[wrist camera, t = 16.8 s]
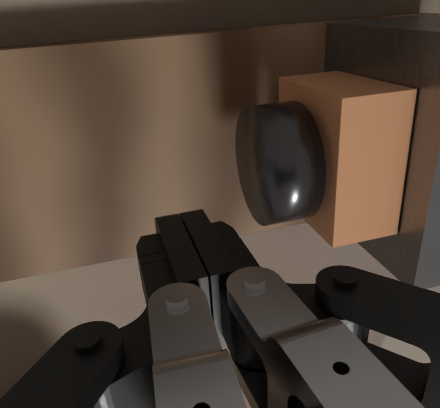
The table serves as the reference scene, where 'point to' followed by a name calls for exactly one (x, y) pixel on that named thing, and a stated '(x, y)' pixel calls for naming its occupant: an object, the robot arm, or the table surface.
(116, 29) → the table surface
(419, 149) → the block
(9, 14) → the table surface
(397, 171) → the spacer
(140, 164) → the baseboard
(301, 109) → the shaft
